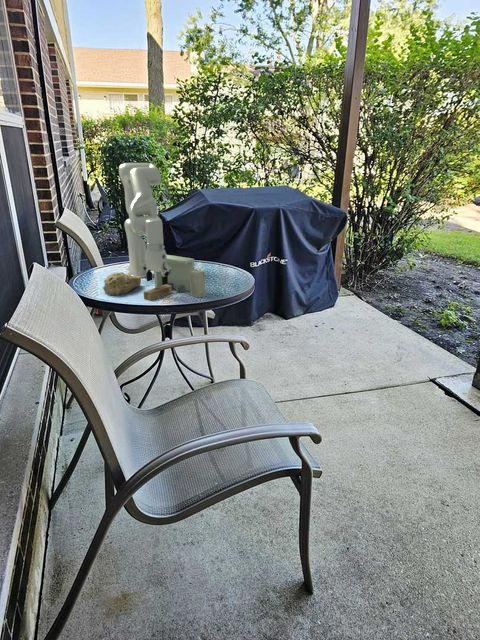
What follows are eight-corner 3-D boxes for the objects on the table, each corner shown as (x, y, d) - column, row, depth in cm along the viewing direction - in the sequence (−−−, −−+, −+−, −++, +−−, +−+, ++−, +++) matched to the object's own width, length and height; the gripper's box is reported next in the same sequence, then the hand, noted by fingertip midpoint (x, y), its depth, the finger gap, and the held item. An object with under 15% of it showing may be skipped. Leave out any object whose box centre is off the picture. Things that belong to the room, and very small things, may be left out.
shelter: (155, 288, 209) (152, 256, 204) (164, 285, 215) (162, 254, 209) (186, 294, 200) (184, 261, 194) (195, 291, 205) (194, 258, 199)
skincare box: (206, 296, 197) (205, 271, 193) (199, 298, 194) (198, 272, 190) (196, 293, 201) (196, 268, 197) (190, 295, 198) (189, 270, 194)
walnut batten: (144, 299, 193) (143, 291, 192) (165, 291, 205) (165, 284, 204) (150, 300, 191) (150, 293, 190) (171, 292, 203) (171, 285, 202)
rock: (117, 285, 218) (120, 267, 215) (142, 293, 216) (146, 275, 213) (95, 292, 198) (99, 272, 195) (123, 301, 196) (127, 281, 193)
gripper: (175, 247, 188) (176, 283, 195) (146, 242, 197) (149, 277, 203) (164, 250, 183) (165, 287, 189) (135, 245, 191) (138, 281, 197)
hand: (157, 282), depth 196 cm, fingers open, 9 cm apart
